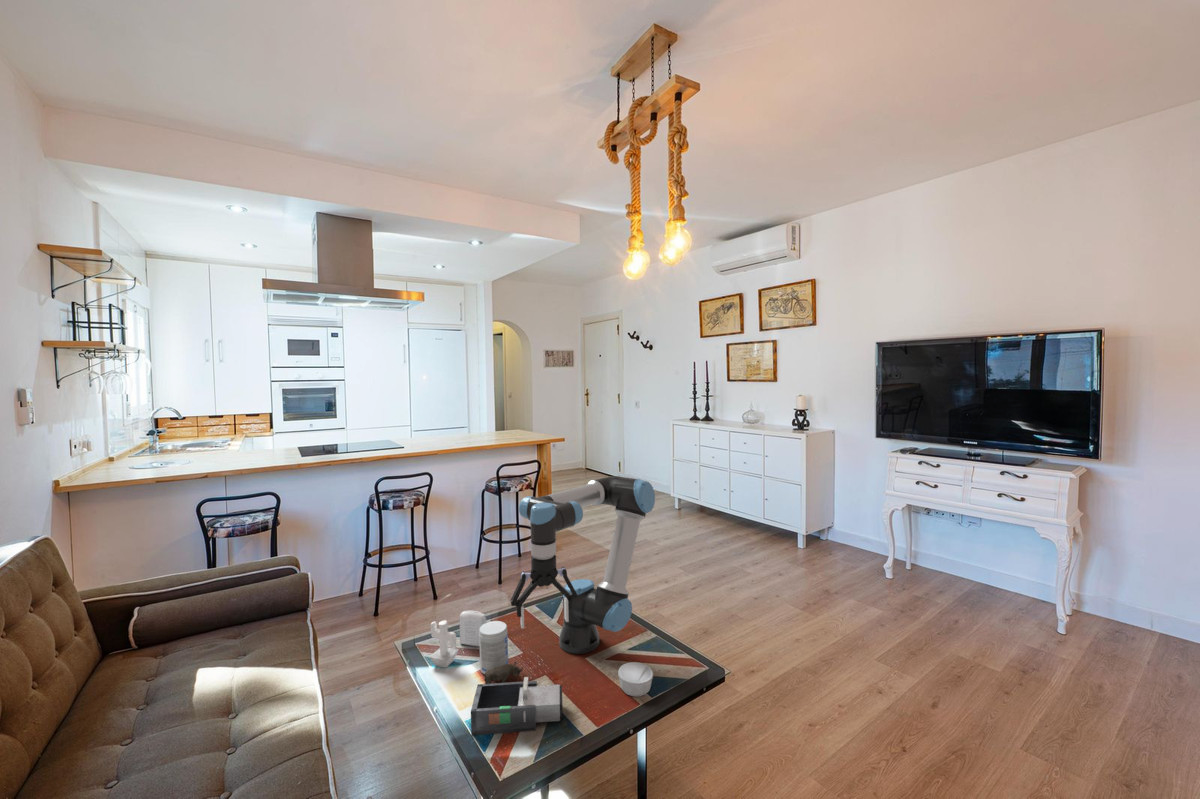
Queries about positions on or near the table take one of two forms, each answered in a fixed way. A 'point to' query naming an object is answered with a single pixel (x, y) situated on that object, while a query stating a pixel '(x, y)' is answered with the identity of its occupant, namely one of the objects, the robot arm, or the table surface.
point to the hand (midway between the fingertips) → (544, 623)
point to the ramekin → (635, 678)
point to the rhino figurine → (501, 673)
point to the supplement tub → (493, 645)
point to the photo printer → (471, 627)
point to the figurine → (443, 645)
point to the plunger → (543, 701)
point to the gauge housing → (501, 709)
